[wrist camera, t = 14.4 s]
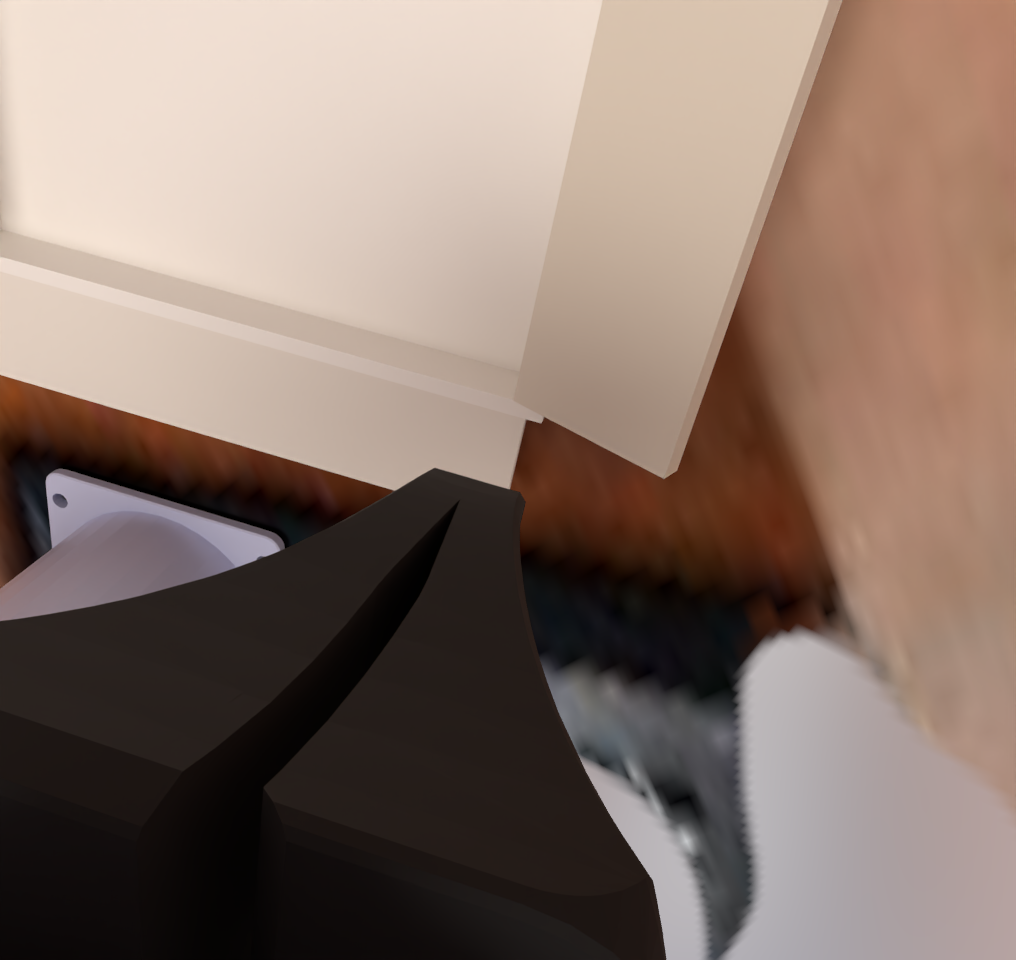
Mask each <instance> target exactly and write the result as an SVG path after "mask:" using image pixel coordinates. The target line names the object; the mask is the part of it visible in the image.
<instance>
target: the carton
mask: <svg viewBox="0 0 1016 960" xmlns="http://www.w3.org/2000/svg"><path fill="white" fill-rule="evenodd" d="M602 1H603V0H0V375H3V376H6V377H10V378H13V379H16V380H20V381H23V382H27V383H30V384H33V385H37V386H40V387H44V388H47V389H50V390H54V391H57V392H61V393H64V394H67V395H71V396H74V397H78V398H81V399H84V400H88V401H91V402H95V403H98V404H102V405H105V406H108V407H112V408H115V409H119V410H122V411H125V412H129V413H132V414H136V415H139V416H142V417H146V418H149V419H153V420H156V421H159V422H163V423H166V424H170V425H173V426H176V427H180V428H183V429H187V430H190V431H193V432H197V433H200V434H204V435H207V436H210V437H214V438H217V439H221V440H224V441H227V442H231V443H234V444H238V445H241V446H245V447H248V448H251V449H255V450H258V451H262V452H265V453H268V454H272V455H275V456H279V457H282V458H285V459H289V460H292V461H296V462H299V463H302V464H306V465H309V466H313V467H316V468H319V469H323V470H326V471H330V472H333V473H336V474H340V475H343V476H347V477H350V478H353V479H357V480H360V481H364V482H367V483H371V484H374V485H377V486H381V487H384V488H388V489H391V490H394V491H395V490H397V489H399V488H400V487H402V486H404V485H405V484H407V483H409V482H410V481H412V480H414V479H415V478H417V477H419V476H420V475H422V474H424V473H426V472H427V471H429V470H431V469H433V468H438V469H441V470H444V471H448V472H451V473H455V474H458V475H462V476H465V477H469V478H472V479H476V480H479V481H482V482H486V483H489V484H493V485H496V486H500V487H503V488H507V489H510V488H511V483H512V479H513V475H514V471H515V466H516V462H517V458H518V454H519V449H520V445H521V441H522V437H523V432H524V428H525V424H526V420H530V421H534V422H537V423H541V424H542V421H543V419H544V416H542V415H540V414H538V413H536V412H534V411H532V410H530V409H528V408H526V407H524V406H522V405H520V404H519V403H517V402H515V401H513V399H514V394H515V390H516V385H517V381H518V377H519V372H520V368H521V363H522V359H523V354H524V350H525V345H526V341H527V336H528V332H529V327H530V323H531V318H532V314H533V310H534V305H535V301H536V296H537V292H538V287H539V283H540V278H541V274H542V269H543V265H544V260H545V256H546V251H547V247H548V243H549V238H550V234H551V229H552V225H553V220H554V216H555V211H556V207H557V202H558V198H559V193H560V189H561V184H562V180H563V175H564V171H565V167H566V162H567V158H568V153H569V149H570V144H571V140H572V135H573V131H574V126H575V122H576V117H577V113H578V108H579V104H580V100H581V95H582V91H583V86H584V82H585V77H586V73H587V68H588V64H589V59H590V55H591V50H592V46H593V41H594V37H595V33H596V28H597V24H598V19H599V15H600V10H601V6H602Z"/></svg>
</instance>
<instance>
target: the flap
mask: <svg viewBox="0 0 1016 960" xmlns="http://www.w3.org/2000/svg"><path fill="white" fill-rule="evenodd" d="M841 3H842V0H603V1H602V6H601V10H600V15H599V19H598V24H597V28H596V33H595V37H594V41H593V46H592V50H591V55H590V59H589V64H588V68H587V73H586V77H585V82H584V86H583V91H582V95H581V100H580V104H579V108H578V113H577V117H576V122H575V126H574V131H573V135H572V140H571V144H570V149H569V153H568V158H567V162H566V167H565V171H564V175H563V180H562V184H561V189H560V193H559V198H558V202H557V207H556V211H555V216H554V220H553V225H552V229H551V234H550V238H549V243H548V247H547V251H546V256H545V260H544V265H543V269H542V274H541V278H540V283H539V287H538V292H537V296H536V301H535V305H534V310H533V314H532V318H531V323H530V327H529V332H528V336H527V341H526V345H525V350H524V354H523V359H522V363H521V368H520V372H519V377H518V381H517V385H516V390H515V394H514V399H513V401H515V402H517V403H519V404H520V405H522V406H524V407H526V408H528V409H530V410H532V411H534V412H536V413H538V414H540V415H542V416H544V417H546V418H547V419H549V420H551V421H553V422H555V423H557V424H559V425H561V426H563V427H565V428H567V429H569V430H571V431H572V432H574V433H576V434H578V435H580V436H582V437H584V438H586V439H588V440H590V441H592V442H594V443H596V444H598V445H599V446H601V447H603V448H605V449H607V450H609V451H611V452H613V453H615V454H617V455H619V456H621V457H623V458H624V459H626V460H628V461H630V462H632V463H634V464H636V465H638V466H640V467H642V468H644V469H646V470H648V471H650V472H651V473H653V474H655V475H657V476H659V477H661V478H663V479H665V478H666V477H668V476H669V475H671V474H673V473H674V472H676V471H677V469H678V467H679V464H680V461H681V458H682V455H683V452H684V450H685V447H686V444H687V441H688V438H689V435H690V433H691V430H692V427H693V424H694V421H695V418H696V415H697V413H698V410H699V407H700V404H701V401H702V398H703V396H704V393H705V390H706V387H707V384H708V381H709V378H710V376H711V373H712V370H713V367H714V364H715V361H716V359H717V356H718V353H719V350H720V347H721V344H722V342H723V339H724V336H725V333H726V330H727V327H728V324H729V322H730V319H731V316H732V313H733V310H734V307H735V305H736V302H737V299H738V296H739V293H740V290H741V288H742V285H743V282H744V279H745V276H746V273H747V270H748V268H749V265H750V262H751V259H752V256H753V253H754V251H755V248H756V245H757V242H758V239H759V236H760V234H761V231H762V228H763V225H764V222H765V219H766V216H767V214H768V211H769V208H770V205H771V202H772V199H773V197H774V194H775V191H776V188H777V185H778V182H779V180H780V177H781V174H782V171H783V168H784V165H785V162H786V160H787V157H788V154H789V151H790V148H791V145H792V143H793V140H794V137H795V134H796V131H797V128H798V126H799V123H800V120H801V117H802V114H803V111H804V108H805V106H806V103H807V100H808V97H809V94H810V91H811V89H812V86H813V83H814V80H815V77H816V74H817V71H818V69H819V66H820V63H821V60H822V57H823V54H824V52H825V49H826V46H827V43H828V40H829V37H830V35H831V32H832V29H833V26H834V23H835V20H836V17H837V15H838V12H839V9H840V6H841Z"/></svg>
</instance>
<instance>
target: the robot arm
mask: <svg viewBox="0 0 1016 960" xmlns="http://www.w3.org/2000/svg"><path fill="white" fill-rule="evenodd" d="M46 491H47V501H48V511H49V521H50V532H51V542H52V549H51V550H50V551H49V552H47V553H46V554H45V555H43V556H42V557H41V558H39V559H38V560H37V561H36V562H34V563H33V564H32V565H30V566H29V567H28V568H26V569H25V570H24V571H23V572H21V573H20V574H19V575H17V576H16V577H15V578H13V579H12V580H11V581H10V582H8V583H7V584H6V585H4V586H3V587H2V588H1V589H0V960H666V954H665V947H664V940H663V932H662V927H661V921H660V915H659V909H658V904H657V899H656V894H655V889H654V884H653V880H652V879H651V877H650V876H649V874H648V873H647V871H646V870H645V868H644V867H643V865H642V864H641V862H640V861H639V860H638V858H637V856H636V855H635V853H634V852H633V850H632V849H631V847H630V846H629V844H628V843H627V841H626V840H625V838H624V837H623V835H622V834H621V832H620V831H619V829H618V827H617V826H616V824H615V823H614V821H613V819H612V818H611V816H610V814H609V813H608V811H607V809H606V807H605V806H604V804H603V802H602V800H601V798H600V797H599V795H598V793H597V791H596V789H595V788H594V786H593V784H592V782H591V781H590V778H589V777H588V775H587V773H586V771H585V769H584V767H583V765H582V762H581V760H580V758H579V756H578V754H577V752H576V750H575V747H574V745H573V743H572V741H571V739H570V737H569V734H568V732H567V730H566V728H565V726H564V724H563V722H562V719H561V717H560V715H559V713H558V710H557V707H556V705H555V702H554V699H553V697H552V694H551V691H550V689H549V686H548V683H547V680H546V677H545V674H544V671H543V668H542V665H541V662H540V659H539V655H538V652H537V648H536V644H535V641H534V637H533V633H532V628H531V624H530V619H529V614H528V609H527V605H526V599H525V593H524V586H523V577H522V569H521V560H520V523H521V519H522V515H523V511H524V507H525V503H526V502H525V500H524V498H523V497H522V495H521V493H520V492H517V491H513V490H510V489H507V488H503V487H500V486H496V485H493V484H489V483H486V482H482V481H479V480H476V479H472V478H469V477H465V476H462V475H458V474H455V473H451V472H448V471H444V470H441V469H438V468H433V469H431V470H429V471H427V472H426V473H424V474H422V475H420V476H419V477H417V478H415V479H414V480H412V481H410V482H409V483H407V484H405V485H404V486H402V487H400V488H399V489H397V490H395V491H394V492H392V493H390V494H389V495H387V496H385V497H384V498H382V499H380V500H379V501H377V502H375V503H373V504H372V505H370V506H368V507H366V508H364V509H363V510H361V511H359V512H357V513H355V514H354V515H352V516H350V517H348V518H346V519H345V520H343V521H341V522H339V523H337V524H335V525H333V526H332V527H330V528H328V529H326V530H323V531H321V532H319V533H317V534H315V535H313V536H311V537H309V538H307V539H305V540H303V541H301V542H298V543H296V544H294V545H292V546H290V547H288V548H285V546H284V543H283V541H282V539H281V538H280V537H279V536H278V535H277V534H275V533H273V532H271V531H268V530H264V529H261V528H258V527H254V526H251V525H248V524H244V523H241V522H238V521H235V520H231V519H228V518H225V517H221V516H218V515H215V514H211V513H208V512H205V511H201V510H198V509H195V508H192V507H188V506H185V505H182V504H178V503H175V502H172V501H168V500H165V499H162V498H159V497H155V496H152V495H149V494H145V493H142V492H139V491H135V490H132V489H129V488H126V487H122V486H119V485H116V484H112V483H109V482H106V481H102V480H99V479H96V478H92V477H89V476H86V475H83V474H79V473H76V472H73V471H69V470H66V469H57V470H55V471H53V472H52V473H50V474H49V475H48V476H47V477H46ZM62 495H63V496H64V497H65V498H66V500H65V499H64V498H63V497H62ZM263 556H265V557H263Z"/></svg>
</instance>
